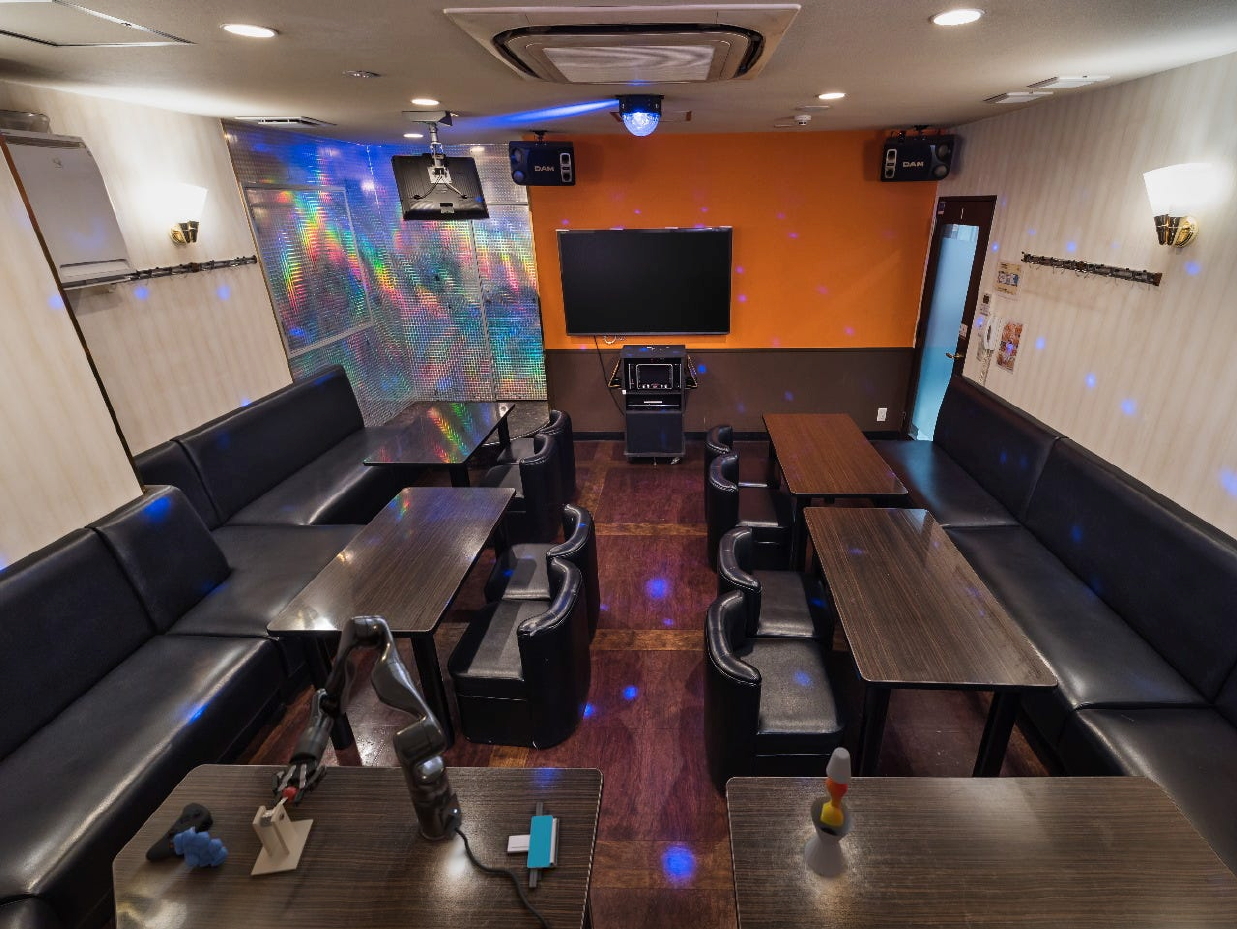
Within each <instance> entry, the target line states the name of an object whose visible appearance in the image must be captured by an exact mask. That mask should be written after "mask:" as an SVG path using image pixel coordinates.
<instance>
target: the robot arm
mask: <svg viewBox="0 0 1237 929" xmlns="http://www.w3.org/2000/svg"><path fill="white" fill-rule="evenodd" d="M336 650H337V651H336V654H335V658H334V663H333V666H332V668H331V671H330V673H329V675H328V676H327V679H326V681H325V683H324V687H323V688H318V689H317V690H316V691H315V692H313V694H312V696H311V698H310V701H309V706H308V707H309V708H308V718H307V722H306V725H305V727H304V729H303V730H302V733H301V734H300V736H299V737H298V740H297V742H296V744H295V747H294V749H293V751H292V753H291V756H290V758H289V760H288V765H287V766H286V767H285V768H284V769H283V771H280V772H278V771H276V770H275V771H273V772H272V773H271V790H272V793H273V796H274V801H273V806H274V808H275V807H276V806H277V804H279V802H280V801H281V800H282V793H283V791H284V790H285V789H287V788H289V787H294V786H295V785H298V784H299V785H298V786H299V787H298V789H297V788H296V789H297V792H296V794H295V797H294V799H293V802H291V803H292V807H293V809H294V808H298V807H299V806H300V805H301V804H302V802H303V800H304V797H305V795H306V794H307V793H308V792H311V793H312V792H314V791H315V790H316V788H317V787H318V786H319V785H320V784H321V782H322V781H323V780H324V778H325V777H326V775H328V770H327V767H326V765H325V764H323V765H321V766H320V764H321V761H322V759H323V756H324V754H325V751H326V750H327V747H328V742H329V739H330V736H331V733H332V730H333V728H334V724H335V720H334V719H339V718H341V717H342V716H344V715H345V713H346V712H347V710H348V707H349V703H350V702H349V701H350V691H351V689H352V686H353V684H354V682H355V680H356V678H357V674H358V669H357V664H356V662H355V660H354V658H353V656H352V652H354V651H364V650H375V651H377V653H378V657H377V659H376V661H375V662H374V665H373V667H372V670H371V672H370V683H371V685H372V688H373V690H374V692H375V694H376V697H377V699H378V700H379V701H380V703H382V704H383V705H384V706H386V707H388V708H391V709H392V710H395V711H399V712H402V713H405V714H407V715H409V716H411V717H412V718H414V720H415V721H413V722H411V723H409V724H408V725H405V726H404V727H401V728H400V729H398V730H397V731H395V732H393V736H392V747H393V750H394V753H395V756H396V758H397V760H398V763H399V765H400V768H401V770H402V773H403V776H404V780H405V783H406V787H407V789H408V790H407V791H408V794H409V795H410V799H411V802H412V805H413V810H414V813H415V816H416V818H417V821H418V824H419V829H420V832H421V834H422V836H423V837H424V838H425V839H426V840H428V841H441V840H443V839H447V840H449V841H453V840H454V838H456V835H457V834H458V835H459V836H460V837H461V839H462V840H463V843H464V844H463V845H464V848H465V851H466V853H467V855H468V857H469V859H470V861H471V862H472V863H473V864H474V865H475V866H476V867H477V868H479V869H480V870H481V871H484V872H486V873H497V874H505V875H508V876H509V877H511V878H512V880H513V881H514V884H515V886H516V890H517V893H518V896H519V898H520V900H521V902H522V904H523V906H524V907H525V908H526V909H527V910H529V912H530V913H532V914H533V915H534V916H535V917H536V918H537V919H538V920H539V921H540V923H541V924H542V926H543V927H544V929H549V928H550V926H549V924H548V923H547V921H546V919H545V918H544V917H543V916H542V914H541V913H539V911H537V909H535V908H534V907H533V906H532V905H531V903H529V902H528V900H527V898H526V897H525V895H524V892H523V890H522V886H521V883H520V880H519V878H518V877H517V875H516V874H515V873H514V872H512V871H511V870H509V869H506V868H500V867H499V868H498V867H489V866H485V865H484V864H482V863H481V862H479V861H478V860H477V859H476V857H475V855H474V854H473V852H472V849H471V848H470V845H469V841H468V838H467V835H466V834H465V833H464V832H463V831H462V830H461V829H460V828H461V826H462V825H463V822H462V817H463V814H462V810H461V806H460V803H459V798H458V795H457V792H456V791H455V790H453V788H452V785H451V780H450V778H449V773H448V770H447V765H446V762H445V760H444V759H443V757H442V756H441V754H442V753H444V752H445V751H446V750H447V746H448V740H447V736H446V733H445V731H444V729H443V727H442V725H441V723H440V722H439V719H438V718H437V716H436V715H435V714H434V712H433V710H432V709H431V708H430V706H429V704H428V703H427V701H426V700H425V698H424V696H423V695H422V693H421V691H420V689H419V686H418V684H417V682H416V681H415V678H414V676H413V675H412V674H413V673H412V672H411V671H410V669H409V667H408V665H407V664H406V662H405V659H404V658H403V656H402V654H401V652H400V651H399V648H398V646H397V644H396V642H395V639H394V636H393V633H392V631H391V628H390V626H389V623H388V621H387V619H386V618H385V617H384V616H382V615H379V614H371V615H370V614H367V615H366V614H365V615H353V616H351V617H349V618H348V619H347V620H346V622H345V624H344V625H343V628H342V631H341V635H340V638H339V642H338V646H337V649H336Z"/></svg>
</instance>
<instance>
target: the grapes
mask: <svg viewBox="0 0 1237 929" xmlns="http://www.w3.org/2000/svg"><path fill="white" fill-rule="evenodd" d="M173 843H174V845H175V852H176V853H177V855H178V854H184V855H185V856H184V862H185V865H186V867H187V869H188V868H193V867H197V866H198V865H199V867H200V868H203V867H206V866H208V865H211V867H218V866H219V865H221V864H222V863H223V862H224V861H225V859H226V858H228V856H229V853H228V852H229V851H228V849H227V847H226V846H223V842H222V840H221V838H218V837H217V838H212V839H211V836H210V834H209V832H208V831H201V832H198V833H197V835H196V832H195V831H194V829H192V830H186V831H184V832H183V833H180V834H177V835H175V836H174V838H173Z"/></svg>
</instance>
